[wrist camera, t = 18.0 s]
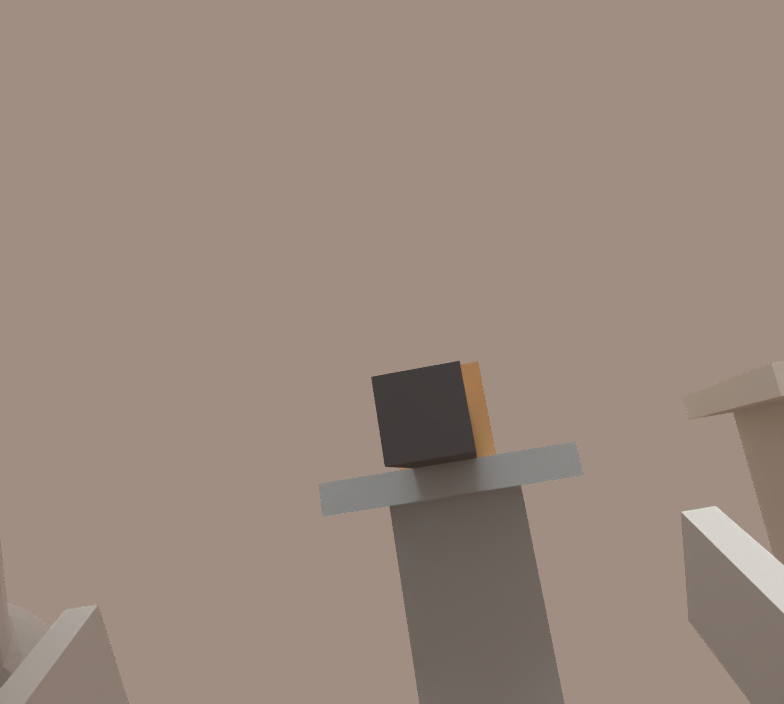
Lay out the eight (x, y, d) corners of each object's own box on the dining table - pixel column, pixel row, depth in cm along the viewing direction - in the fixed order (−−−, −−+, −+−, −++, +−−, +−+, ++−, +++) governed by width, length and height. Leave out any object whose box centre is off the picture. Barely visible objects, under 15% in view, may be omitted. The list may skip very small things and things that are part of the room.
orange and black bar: (355, 471, 20) (334, 325, 21) (412, 472, 37) (399, 392, 38) (507, 446, 19) (478, 298, 20) (493, 458, 37) (477, 378, 38)
